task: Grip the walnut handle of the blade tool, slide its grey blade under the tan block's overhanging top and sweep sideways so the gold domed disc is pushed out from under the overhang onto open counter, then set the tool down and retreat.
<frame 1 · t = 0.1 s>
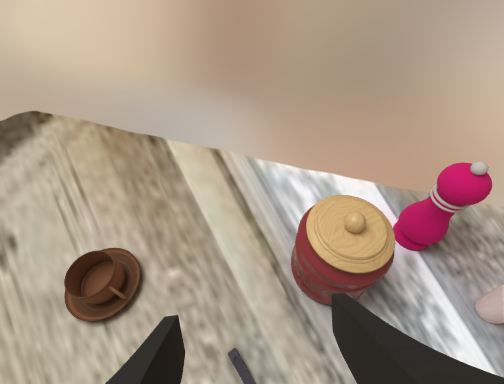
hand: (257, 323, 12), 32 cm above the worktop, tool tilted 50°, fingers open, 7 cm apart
cup and saucer: (108, 285, 46), on the worktop
smoothie: (487, 311, 42), on the worktop
pepper mill: (409, 235, 49), on the worktop
canister: (327, 268, 46), on the worktop
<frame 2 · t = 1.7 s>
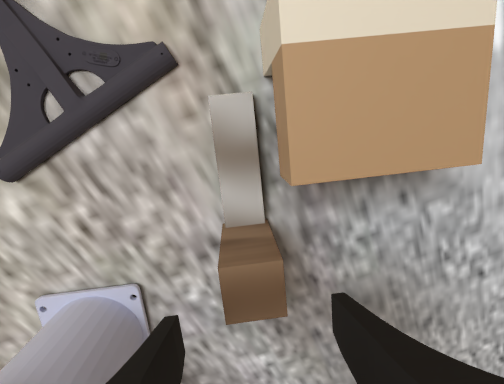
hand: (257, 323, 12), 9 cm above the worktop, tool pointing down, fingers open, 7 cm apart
tan block: (334, 95, 19), on the worktop
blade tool: (247, 241, 21), on the worktop
bracket: (27, 29, 18), on the worktop
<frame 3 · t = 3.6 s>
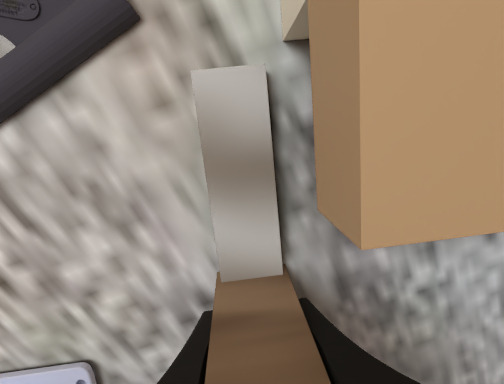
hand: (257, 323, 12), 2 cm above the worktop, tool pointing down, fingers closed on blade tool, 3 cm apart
tan block: (394, 73, 12), on the worktop
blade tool: (254, 297, 14), on the worktop, touching gripper
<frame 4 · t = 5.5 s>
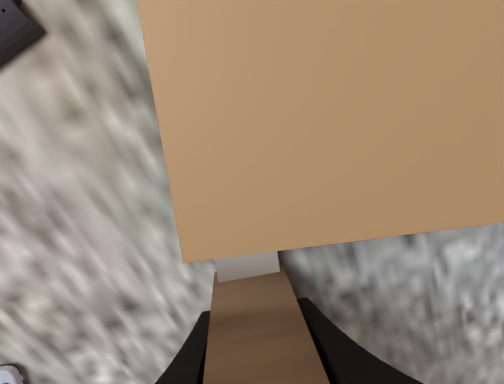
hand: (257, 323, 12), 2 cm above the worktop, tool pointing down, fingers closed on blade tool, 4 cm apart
tan block: (301, 84, 12), on the worktop
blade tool: (253, 296, 14), on the worktop, touching gold domed disc, gripper
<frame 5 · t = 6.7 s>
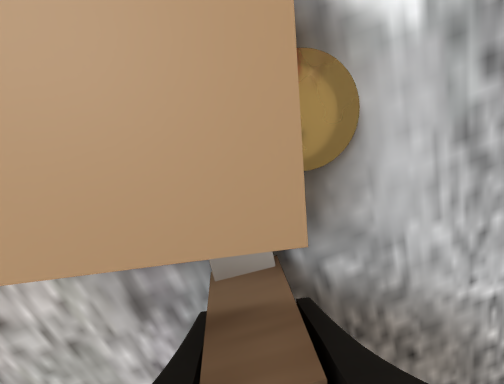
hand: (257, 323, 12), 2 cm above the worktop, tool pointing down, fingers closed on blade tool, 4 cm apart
gold domed disc: (293, 114, 13), on the worktop, touching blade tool
tan block: (151, 99, 12), on the worktop
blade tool: (251, 292, 14), on the worktop, touching gold domed disc, gripper
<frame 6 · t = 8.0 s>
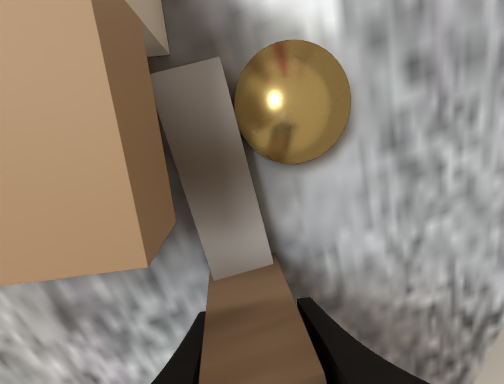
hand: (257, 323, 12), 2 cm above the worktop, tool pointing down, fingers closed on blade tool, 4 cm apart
gold domed disc: (286, 108, 13), on the worktop
tan block: (64, 107, 12), on the worktop
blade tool: (250, 290, 14), on the worktop, touching gripper
when the fingers open (2 cm above the worktop, at t = 9.2 s): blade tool stays where it is, on the worktop.
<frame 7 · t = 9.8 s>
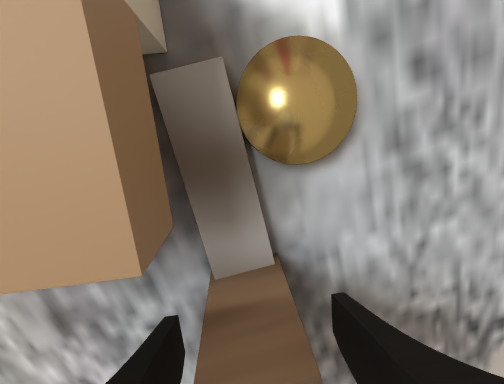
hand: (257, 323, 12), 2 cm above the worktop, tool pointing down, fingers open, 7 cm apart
gold domed disc: (289, 106, 12), on the worktop
tan block: (58, 106, 11), on the worktop
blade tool: (252, 290, 14), on the worktop
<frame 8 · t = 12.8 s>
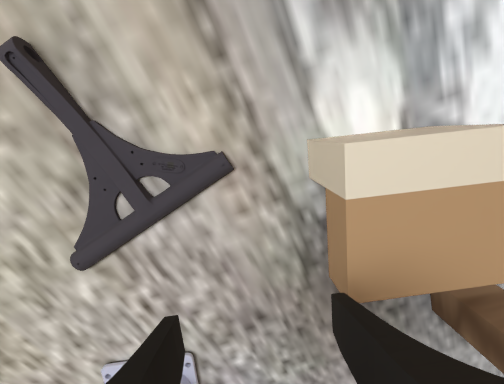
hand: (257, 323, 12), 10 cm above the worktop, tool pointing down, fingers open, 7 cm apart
tan block: (370, 191, 22), on the worktop
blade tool: (448, 288, 24), on the worktop
bracket: (102, 139, 20), on the worktop
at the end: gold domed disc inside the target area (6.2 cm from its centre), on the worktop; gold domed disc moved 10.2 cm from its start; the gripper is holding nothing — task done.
